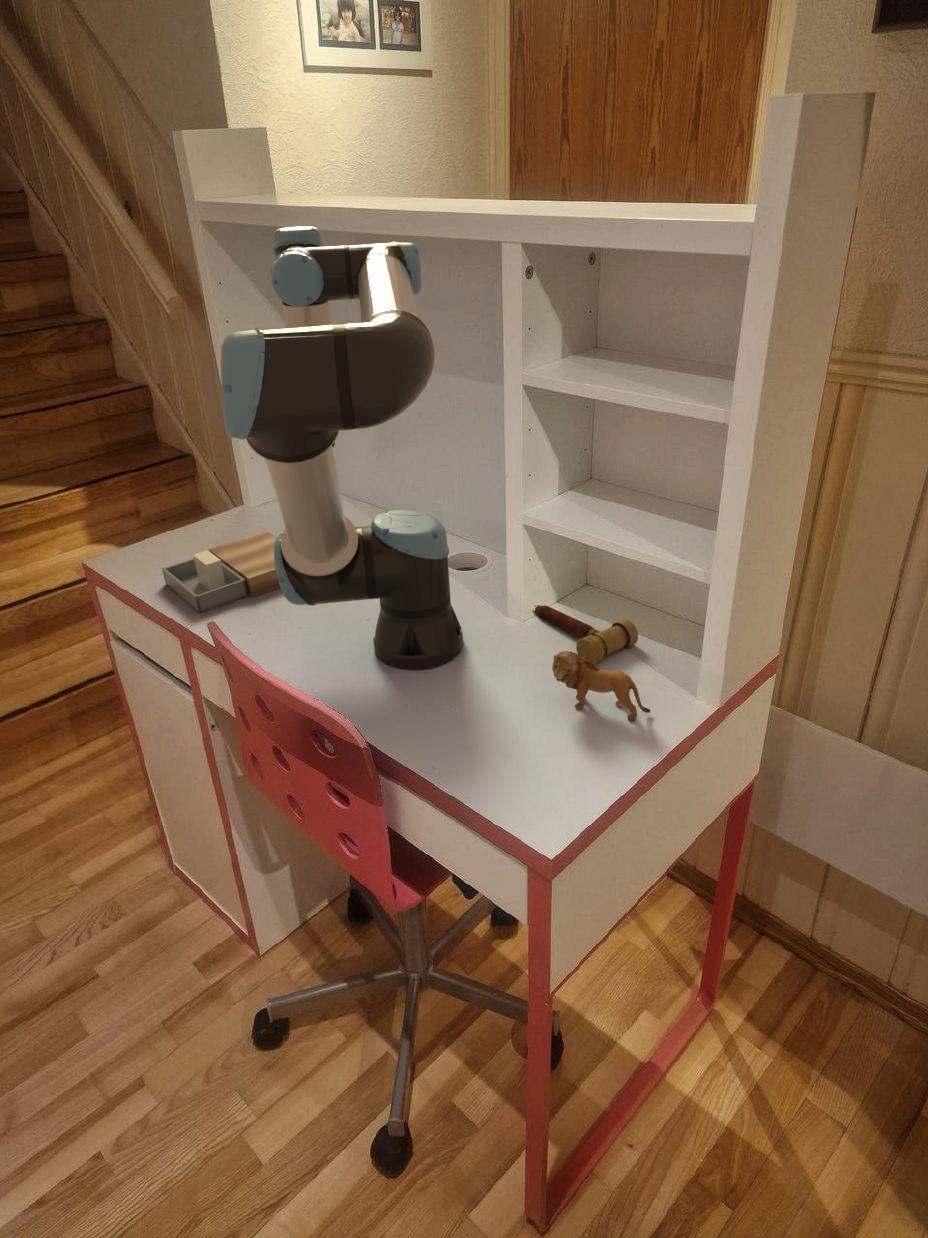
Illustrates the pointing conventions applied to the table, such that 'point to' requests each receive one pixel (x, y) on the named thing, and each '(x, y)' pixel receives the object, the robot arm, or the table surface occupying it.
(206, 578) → the block
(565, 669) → the lion figurine
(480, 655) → the table surface
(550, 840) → the table surface
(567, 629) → the gavel
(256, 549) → the board
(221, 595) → the tray
